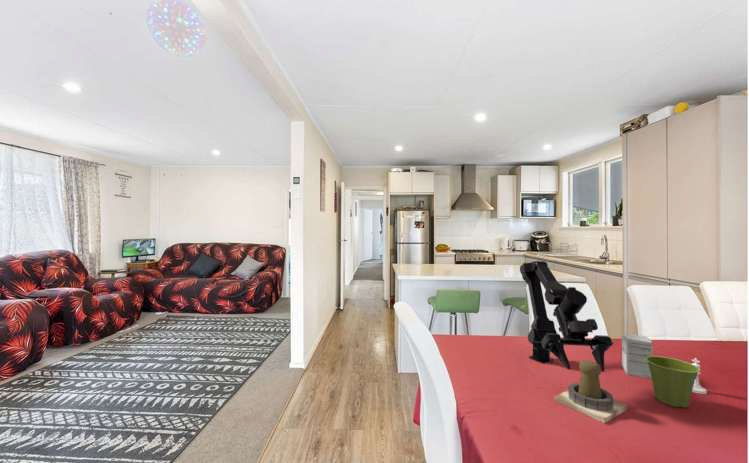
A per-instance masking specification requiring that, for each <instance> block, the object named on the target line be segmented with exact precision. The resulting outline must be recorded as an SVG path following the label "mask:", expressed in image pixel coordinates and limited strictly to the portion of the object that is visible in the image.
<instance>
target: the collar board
mask: <svg viewBox="0 0 749 463" xmlns="http://www.w3.org/2000/svg"><path fill="white" fill-rule="evenodd" d="M579 384H580V382H579V383H576V382H575V383H571V384H569V385H568V390H565V391H563V392H560V393H559V394H557V395H554V398H553V399H554V402H557V403H559V404H561V405H563V406H565V407H568V408H570V409H572V410H574V411H576V412H579V413H581V414H583V415H586V416H588V417H589V418H592V419H594V420H596V421H599V422H600V421H601V422H600V423H602V424H605V423H607V422H609V421H610V420H612V419H614V418H615V417H617V416H619V415H621V414H622V413H624V412H626V411H628V404H625V403H622V402H620V401H617V400H615V399H614V396H613V395H612V393H610V392H609V391H607V390H606V389H604V388H601V395H602V399H593V398H588V397H585V396H583V395H580V394H578V391H579Z"/></svg>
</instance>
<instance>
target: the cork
mask: <svg viewBox="0 0 749 463" xmlns="http://www.w3.org/2000/svg"><path fill="white" fill-rule="evenodd" d="M578 367H579V371H580V372H581V373H580V379H579V383H580V384H579V391H578V394H580V395H583V396H585V397H588V398H593V399H602V395H601V389H602V387H601V384H600V377H599V376H600V375H601V374H602V371H601V368H600V366H599V364H597V363H596V361H593V360H584V359H583V360H581V361H580V362H579V365H578Z"/></svg>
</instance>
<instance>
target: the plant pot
mask: <svg viewBox="0 0 749 463" xmlns="http://www.w3.org/2000/svg"><path fill="white" fill-rule="evenodd" d="M645 359H646V361H647V362H648V366H649V369H650V372H651V377H652V379H651V382H652V387H653V394H654V398H655V399H657V400H658V402H660V403H662V404H665V405H667V406H670V407H675V408H678V407H680V408H681V407H682V408H683V409H684V408H688V407H689V405H690V401H691V397H692V393H693V392H692V389H693V385H694V381H695V379H696V377H697V374H698V373H699V372H700V373H701V370H702V369H701V367H700V368H698V367H697V366H695V365H693V364H692V363H690V362H688V361H684V360H681V359H677V358H672V357H666V356H660V355H653V356H648V357H646V358H645ZM698 375H699V374H698Z"/></svg>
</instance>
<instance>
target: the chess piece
mask: <svg viewBox="0 0 749 463" xmlns="http://www.w3.org/2000/svg"><path fill="white" fill-rule="evenodd" d="M691 361H692V362H693V363H691V364H693V365H695V366H697V367H698V368H700V369H701V365H700V362H701V361H700V360H698V358H696V357H694V359H691ZM701 374H702V373H701V371H700V372H699V373H698V374H697V377H696V379H695V381H694V385H693V389H692V393H695V394H699V395H706V394H708V390H707V389H706V388H705V387H702V385H701V384H700V379H699V375H701Z"/></svg>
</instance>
